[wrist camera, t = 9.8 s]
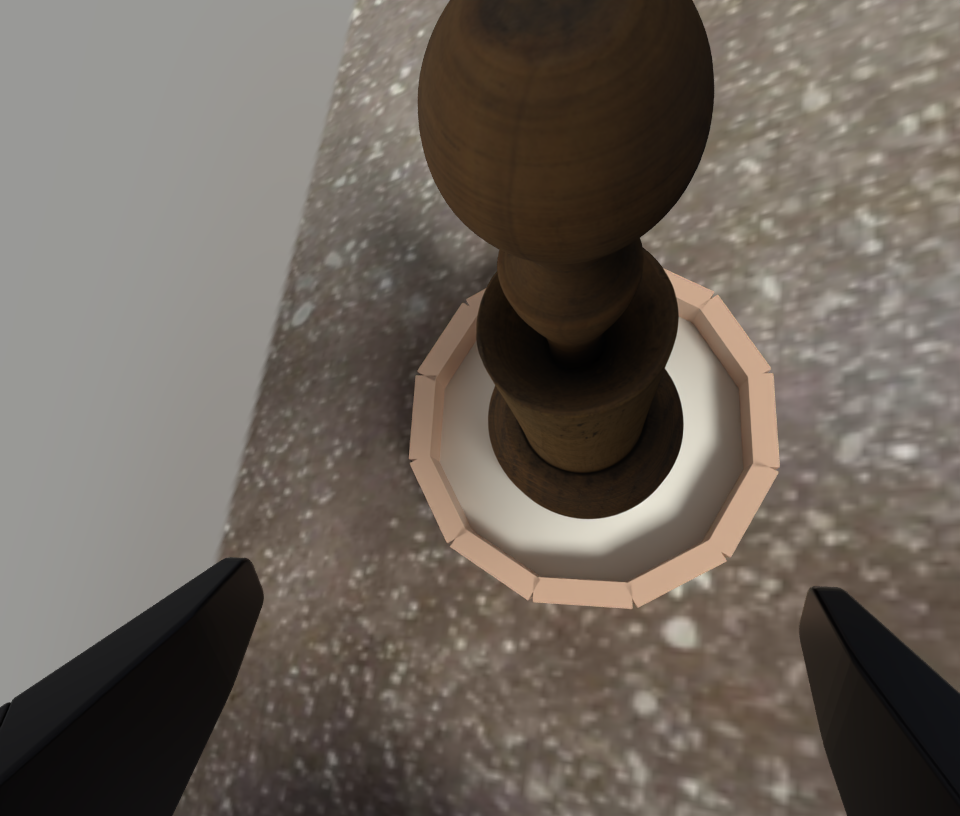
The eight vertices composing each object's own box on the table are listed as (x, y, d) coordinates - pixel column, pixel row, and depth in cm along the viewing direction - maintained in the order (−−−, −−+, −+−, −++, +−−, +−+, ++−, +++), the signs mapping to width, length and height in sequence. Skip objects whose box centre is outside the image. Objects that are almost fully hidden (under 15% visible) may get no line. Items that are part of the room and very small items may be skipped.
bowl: (833, 498, 21) (860, 491, 19) (517, 663, 21) (508, 674, 19) (643, 228, 25) (647, 197, 22) (379, 375, 25) (360, 358, 23)
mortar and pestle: (480, 499, 22) (94, 303, 5) (514, 338, 23) (300, -256, 6) (662, 536, 21) (998, 441, 4) (688, 362, 22) (1026, -328, 5)
